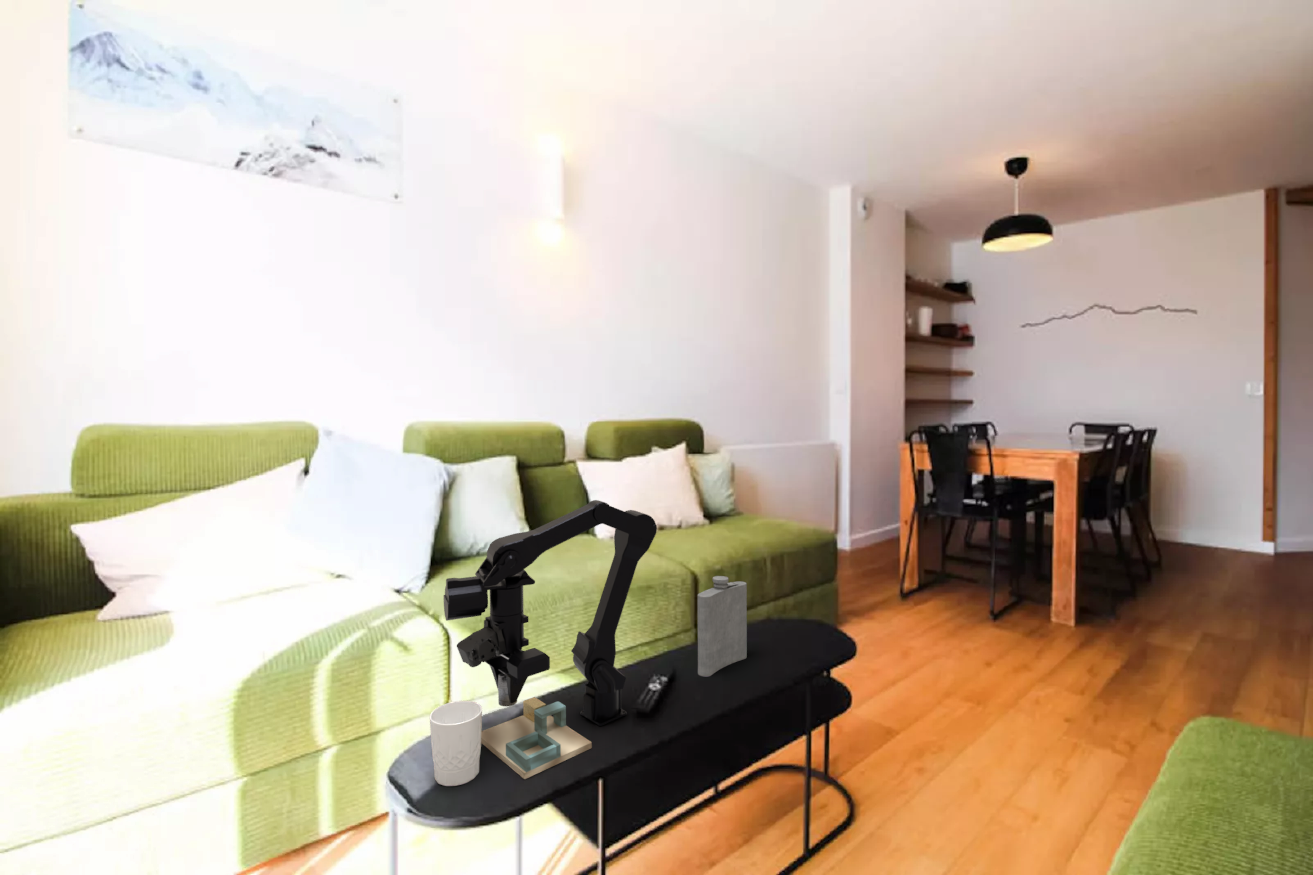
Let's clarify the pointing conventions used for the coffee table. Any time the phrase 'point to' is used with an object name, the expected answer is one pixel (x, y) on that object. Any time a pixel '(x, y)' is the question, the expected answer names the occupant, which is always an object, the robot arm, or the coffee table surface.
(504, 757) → the dock board
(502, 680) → the spigot peg
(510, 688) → the robot arm
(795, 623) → the coffee table surface
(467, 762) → the white cup
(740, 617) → the hip flask
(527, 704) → the tan wooden block
